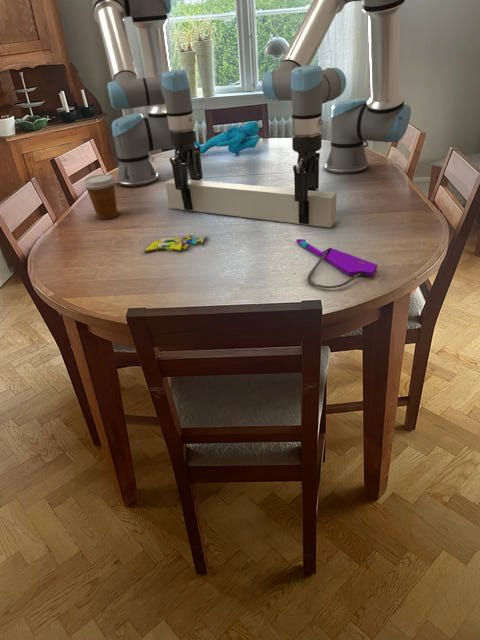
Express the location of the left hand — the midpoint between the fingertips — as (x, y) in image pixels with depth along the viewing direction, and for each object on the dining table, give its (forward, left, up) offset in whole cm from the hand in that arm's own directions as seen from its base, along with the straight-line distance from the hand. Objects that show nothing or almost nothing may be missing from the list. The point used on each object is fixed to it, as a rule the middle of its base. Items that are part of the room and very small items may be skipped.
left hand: (192, 206), depth 153 cm
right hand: (+31, +23, 0) cm, 39 cm away
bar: (+16, +11, -1) cm, 19 cm away
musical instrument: (+57, +11, -1) cm, 58 cm away
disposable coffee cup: (-12, -25, -1) cm, 28 cm away
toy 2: (-57, +38, -1) cm, 68 cm away
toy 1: (+24, -14, -1) cm, 28 cm away
